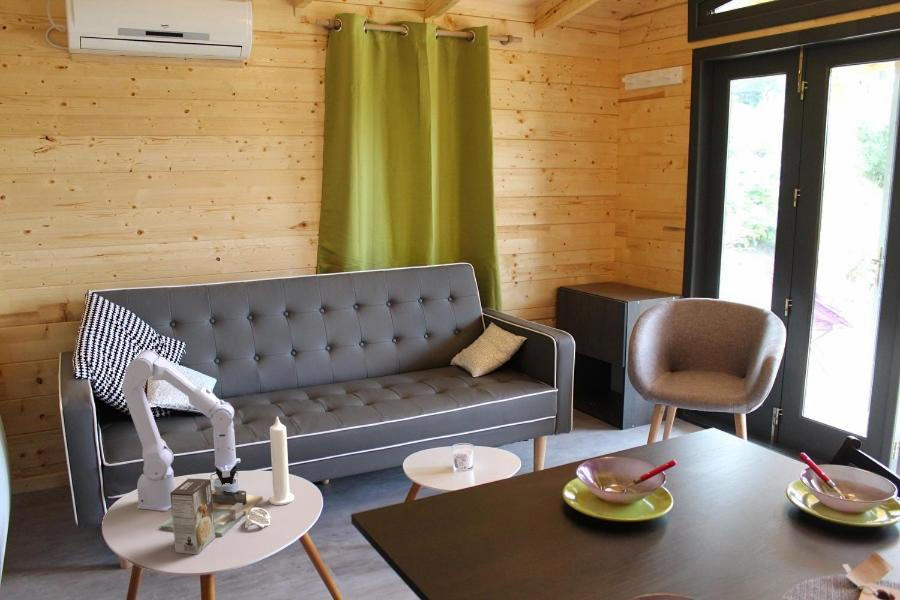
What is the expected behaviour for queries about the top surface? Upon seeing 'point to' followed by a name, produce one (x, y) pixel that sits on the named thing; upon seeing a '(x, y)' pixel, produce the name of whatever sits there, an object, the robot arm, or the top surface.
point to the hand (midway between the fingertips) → (227, 491)
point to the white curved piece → (257, 518)
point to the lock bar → (229, 497)
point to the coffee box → (192, 515)
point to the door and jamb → (225, 514)
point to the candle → (279, 465)
